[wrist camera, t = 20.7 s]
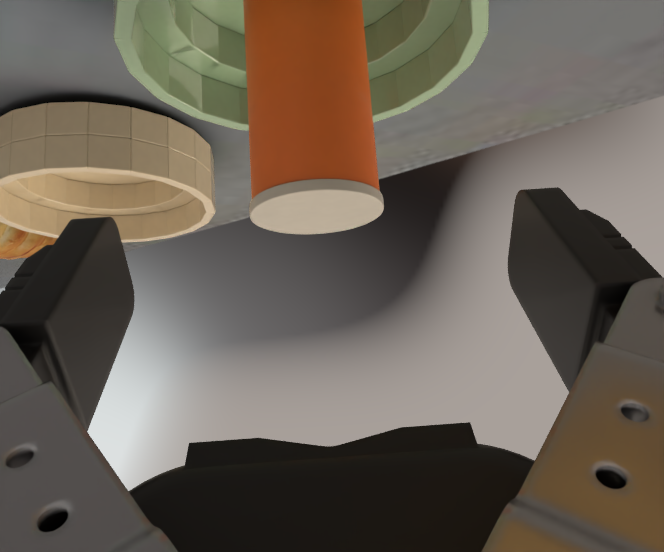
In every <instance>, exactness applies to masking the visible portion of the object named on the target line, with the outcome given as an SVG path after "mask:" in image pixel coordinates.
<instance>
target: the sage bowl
mask: <svg viewBox="0 0 664 552" xmlns="http://www.w3.org/2000/svg"><path fill="white" fill-rule="evenodd" d="M362 9H363V19H364V30H365V41H366V52H367V62H368V73H369V84H370V95H371V105H372V116H373V123H374V122H377V121H380V120H382V119H385V118H388V117H391V116H394V115H397V114H400V113H403V112H406V111H408V110H410V109H412V108H413V107H415V106H417V105H419V104H421V103H422V102H424V101H426V100H428V99H429V98H431V97H433V96H435V95H437V94H438V93H440V92H442V90H444V89H445V88H446V87H448V86H449V85H450V84H451V83H452V82H453V81H454V80H455V79H456V78H457V77H458V76H459V75H460V74H461V73H462V72H464V71H465V70H466V69H467V68H468V67H469V66H470V65H471V64H472V62H473V60H474V59H475V57H476V55H477V53H478V51H479V49H480V47H481V45H482V43H483V41H484V39H485V37H486V36H487V34H488V30H489V0H362ZM114 40H115V42H116V45H117V47H118V49H119V51H120V53H121V56H122V58H123V60H124V62H125V65H126V67H127V69H128V71H129V72H130V74H132V75H133V76H134V77H135V78H136V79H137V80H138V81H139V82H140V83H141V84H142V85H143V86H144V87H145V88H147V89H148V90H149V91H150V92H151V93H152V94H153V95H154V96H155V97H156V98H158V99H159V100H161V101H163V102H165V103H167V104H169V105H171V106H173V107H175V108H177V109H179V110H180V111H182V112H184V113H186V114H188V115H190V116H192V117H195V118H198V119H201V120H205V121H208V122H212V123H215V124H219V125H222V126H226V127H229V128H233V129H238V130H247V131H249V121H248V98H247V75H246V52H245V29H244V6H243V0H114Z"/></svg>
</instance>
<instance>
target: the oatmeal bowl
mask: <svg viewBox="0 0 664 552" xmlns="http://www.w3.org/2000/svg"><path fill="white" fill-rule="evenodd" d="M214 213H215V181H214V158H213V154H212V150H211V147H210V145H209V144H208V143H207V142H206V141H205V140H204V139H203V138H202V137H201V136H200V135H199V134H198V133H197V132H196V131H194V129H192V128H189V127H187V126H185V125H183V124H181V123H179V122H177V121H175V120H173V119H171V118H169V117H166V116H163V115H159V114H155V113H152V112H148V111H145V110H141V109H137V108H134V107H131V108H130V107H129V106H120V105H112V104H104V103H95V102H55V103H43V104H39V105H34V106H29V107H24V108H20V109H15V110H13V111H10V112H8V113H6V114H4V115H2V116H0V222H1V223H4V224H6V225H9V226H12V227H14V228H17V229H20V230H22V231H26V232H31V233H35V234H39V235H44V236H48V237H53V238H58V237H59V236H60V234H61V233H62V231H63V230H64V228H65V227H66V226H67V224H68V223H69V221H70V220H72V219H82V218H97V217H112V218H113V219H114V221H115V222H116V224H117V227H118V230H119V234H120V238H121V242H140V241H151V240H157V239H164V238H171V237H175V236H178V235H182V234H185V233H188V232H192V231H195V230H196V229H198V228H200V227H202V226H203V225H205V224H207V223H208V222H209V221H210V220H211V218H212V217H213V215H214Z"/></svg>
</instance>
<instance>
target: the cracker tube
mask: <svg viewBox="0 0 664 552" xmlns="http://www.w3.org/2000/svg"><path fill="white" fill-rule="evenodd" d="M243 6H244V29H245V52H246V75H247V98H248V121H249V143H250V166H251V189H252V200H251V202H250V205H249V212H250V218H251V220H252V222H253V223H255V224H256V225H257V226H260V227H261V228H265V229H267V230H271V231H275V232H281V233H289V234H322V233H331V232H337V231H343V230H347V229H352V228H355V227H358V226H361V225H364V224H367V223H369V222H371V221H373V220H375V219H376V218H377V217H379V215H381V214H382V212H383V209H384V203H383V196H382V194H381V193H380V191H379V181H378V170H377V159H376V148H375V138H374V127H373V116H372V105H371V95H370V84H369V73H368V62H367V52H366V41H365V30H364V19H363V9H362V0H243Z"/></svg>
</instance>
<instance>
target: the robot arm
mask: <svg viewBox="0 0 664 552" xmlns="http://www.w3.org/2000/svg"><path fill="white" fill-rule="evenodd" d="M508 274H509V280H510V284H511V287H512V289H513V291H514V293H515V295H516V296H517V298H518V300H519V302H520V304H521V306H522V307H523V309H524V311H525V313H526V315H527V317H528V318H529V320H530V322H531V324H532V326H533V327H534V329H535V331H536V333H537V335H538V336H539V338H540V340H541V342H542V344H543V346H544V347H545V349H546V351H547V353H548V355H549V356H550V358H551V360H552V362H553V364H554V365H555V367H556V369H557V371H558V373H559V374H560V376H561V378H562V380H563V382H564V384H565V385H566V387H567V389H568V391H569V394H568V396H567V398H566V400H565V402H564V404H563V406H562V408H561V410H560V412H559V414H558V416H557V418H556V420H555V422H554V424H553V426H552V428H551V430H550V432H549V434H548V436H547V438H546V440H545V442H544V444H543V446H542V448H541V450H540V452H539V454H538V456H537V458H536V460H535V461H534V460H532V459H529V458H527V457H525V456H522V455H520V454H517V453H514V452H511V451H508V450H505V449H501V448H497V447H493V446H488V445H483V444H477V442H476V439H475V436H474V433H473V430H472V427H471V424H470V423H456V424H443V425H429V426H416V427H402V428H398V429H394V430H391V431H387V432H384V433H380V434H377V435H373V436H370V437H366V438H363V439H359V440H356V441H352V442H348V443H345V444H341V445H338V446H333V447H332V446H331V447H325V446H317V445H309V444H300V443H293V442H286V441H277V440H270V439H262V438H252V439H238V440H225V441H211V442H197V443H189V447H188V452H187V457H186V462H185V466H181V467H178V468H175V469H172V470H169V471H167V472H164V473H162V474H159V475H157V476H155V477H153V478H151V479H149V480H147V481H145V482H143V483H141V484H140V485H138V486H137V487H135V488H133V489H132V490H130V491H128V490H127V489H126V488H125V486H124V485H123V483H122V482H121V480H120V479H119V477H118V476H117V475H116V473H115V472H114V470H113V469H112V467H111V466H110V464H109V463H108V462H107V460H106V459H105V457H104V456H103V454H102V453H101V451H100V450H99V449H98V447H97V446H96V444H95V443H94V441H93V440H92V438H91V437H90V436H89V434H88V433H87V431H88V428H89V425H90V423H91V420H92V418H93V415H94V412H95V410H96V407H97V405H98V402H99V400H100V397H101V394H102V392H103V389H104V386H105V384H106V382H107V379H108V376H109V374H110V371H111V369H112V366H113V363H114V361H115V358H116V356H117V353H118V351H119V348H120V345H121V343H122V340H123V338H124V335H125V332H126V330H127V327H128V325H129V322H130V320H131V317H132V314H133V310H134V289H133V284H132V280H131V276H130V272H129V268H128V265H127V261H126V257H125V253H124V249H123V245H122V242H121V238H120V234H119V230H118V227H117V224H116V222H115V221H114V219H113V218H112V217H97V218H82V219H72V220H70V221H69V223H68V224H67V226H66V227H65V228H64V230H63V231H62V233H61V234H60V236H59V237H58V239H57V240H56V241H55V243H54V244H53V245H46V246H44V247H43V248H42V249H40V250H39V251H37V252H36V253H34V254H33V255H31V256H30V257H28V258H27V259H26V260H25V261H24V262H23V264H22V265H21V266H20V268H19V269H18V271H17V272H16V273H15V278H12V279H11V280H10V281H9V283H8V284H7V285H6V287H5V291H2V292H1V294H0V552H664V278H663V277H662V276H661V275H660V274H659V273H658V272H657V271H656V270H655V269H654V268H653V267H652V266H651V265H650V264H649V263H648V262H647V261H646V260H645V259H644V258H643V257H642V256H641V255H640V254H639V252H638V251H637V250H636V249H635V248H632V245H631V244H630V243H629V242H628V241H627V240H626V239H625V238H624V237H621V234H620V233H619V232H618V231H617V230H616V229H615V227H614V226H613V225H612V224H611V223H610V222H609V221H608V220H605V219H603V218H601V217H600V216H598V215H596V214H594V213H592V212H590V211H588V210H579V209H578V208H577V207H576V206H575V204H574V203H573V202H572V201H571V200H570V199H569V198H568V197H567V195H566V194H565V193H564V192H563V191H562V190H561V189H560V188H544V189H530V190H529V189H528V190H520V191H519V192H518V194H517V196H516V199H515V205H514V213H513V222H512V230H511V239H510V247H509V255H508Z"/></svg>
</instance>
